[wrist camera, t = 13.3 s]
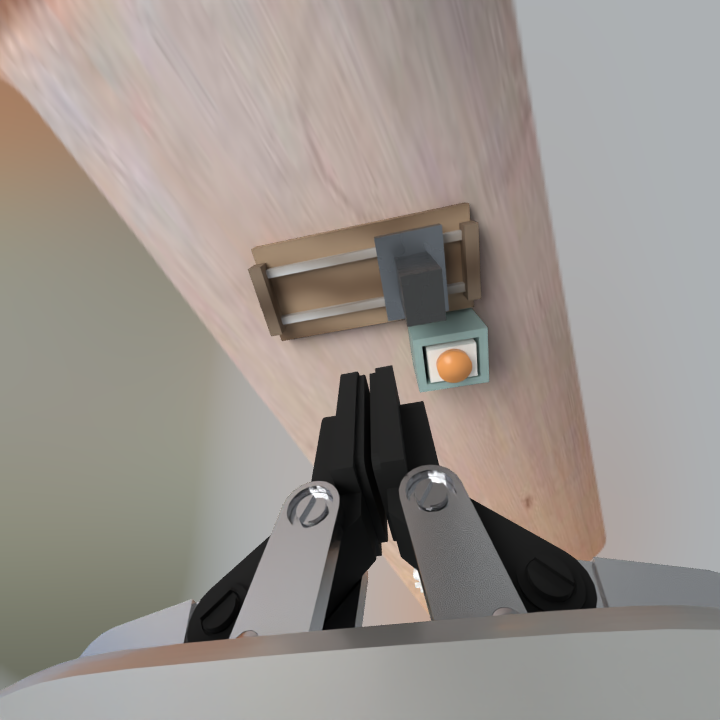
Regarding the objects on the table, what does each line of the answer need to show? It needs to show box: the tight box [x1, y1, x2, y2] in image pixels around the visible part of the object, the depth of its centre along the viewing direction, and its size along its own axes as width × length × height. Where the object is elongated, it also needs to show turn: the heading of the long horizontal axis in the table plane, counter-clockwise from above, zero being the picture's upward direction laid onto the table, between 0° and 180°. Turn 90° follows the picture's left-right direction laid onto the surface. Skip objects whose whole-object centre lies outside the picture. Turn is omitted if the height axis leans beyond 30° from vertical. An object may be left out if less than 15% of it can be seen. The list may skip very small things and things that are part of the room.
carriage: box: [374, 223, 449, 327], centre depth 29 cm, size 8×6×8 cm
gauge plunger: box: [422, 338, 478, 383], centre depth 35 cm, size 4×5×6 cm
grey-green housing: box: [408, 308, 489, 392], centre depth 36 cm, size 6×7×6 cm
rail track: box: [248, 203, 481, 341], centre depth 34 cm, size 10×21×4 cm, turn 101°
